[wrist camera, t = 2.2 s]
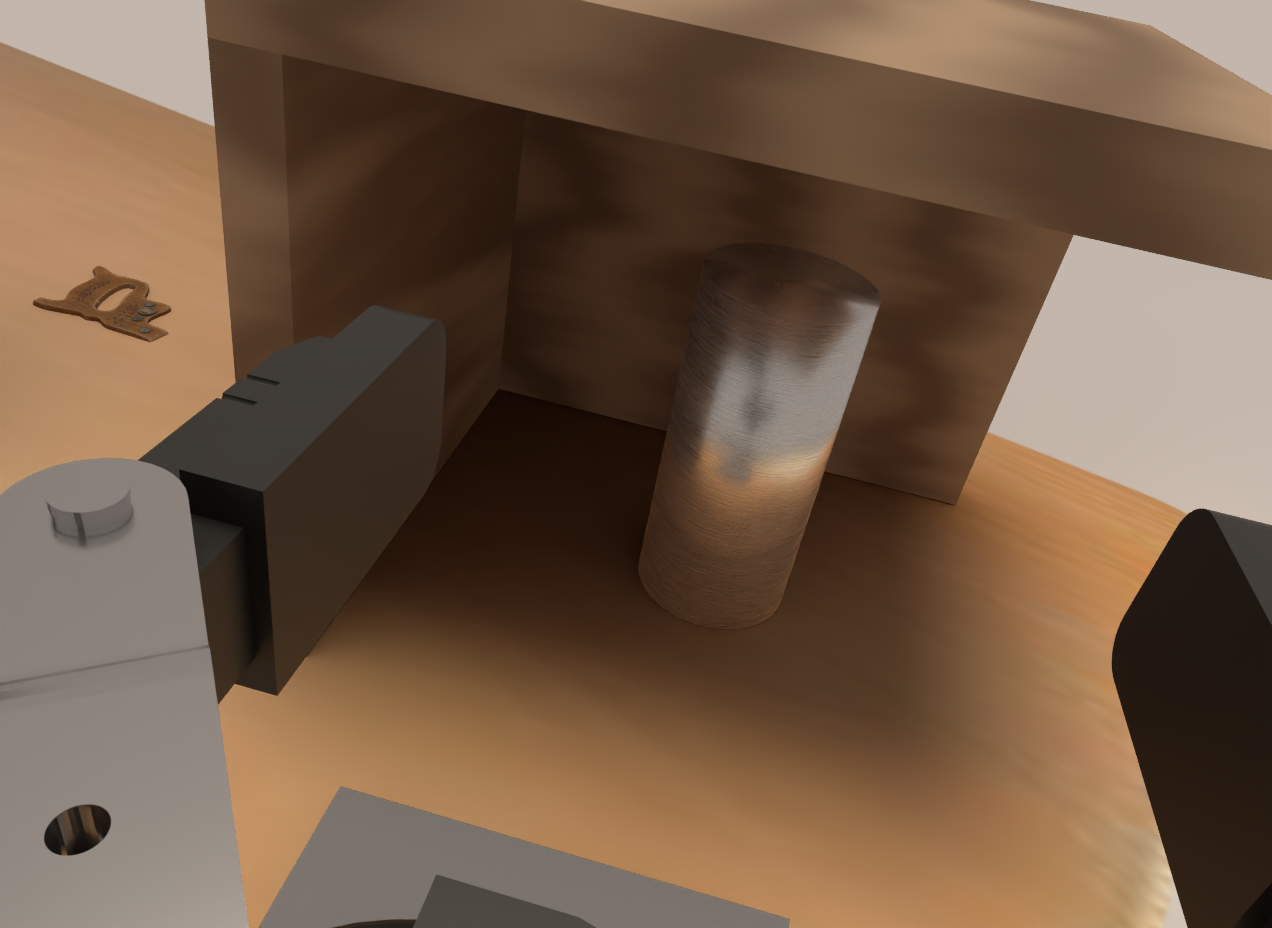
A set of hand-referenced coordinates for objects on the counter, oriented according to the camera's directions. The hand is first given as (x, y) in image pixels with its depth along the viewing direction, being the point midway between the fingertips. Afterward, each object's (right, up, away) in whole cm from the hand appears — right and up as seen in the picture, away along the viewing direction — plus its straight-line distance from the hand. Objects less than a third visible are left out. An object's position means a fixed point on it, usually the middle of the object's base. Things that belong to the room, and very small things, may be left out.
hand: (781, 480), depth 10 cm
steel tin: (+1, -4, +22) cm, 22 cm away
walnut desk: (0, -3, +23) cm, 23 cm away
